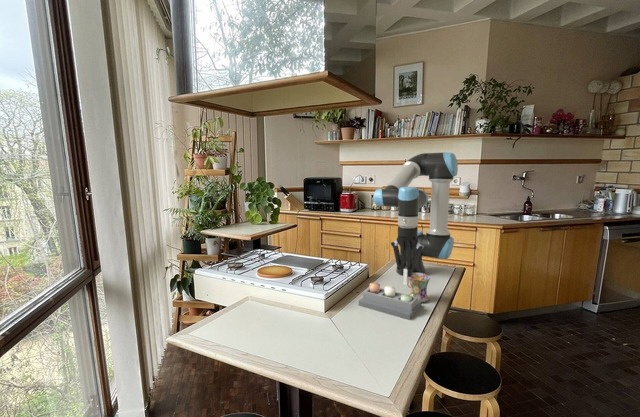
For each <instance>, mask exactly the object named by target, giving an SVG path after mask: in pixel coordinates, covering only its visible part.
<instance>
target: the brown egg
mask: <svg viewBox="0 0 640 417" xmlns="http://www.w3.org/2000/svg"><path fill="white" fill-rule="evenodd" d="M369 287H370V290H369V292H371V293H375V294H378V293H380V288H381V284H380V283H379V282H371V283H369Z"/></svg>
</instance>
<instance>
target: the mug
mask: <svg viewBox="0 0 640 417" xmlns="http://www.w3.org/2000/svg"><path fill="white" fill-rule="evenodd" d="M430 280H431V276H430V275H429V274H427V273H425V274H423V273H412V275H411V277H409V284H410V285H409V284H408V285H406V286H407V287H408V288H409V294H408V295H410V296H414V297H418V301H420V302H421V303H426V302H427V301H428V300H429V296H428V293H427V290H428V285H429V282H430Z"/></svg>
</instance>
